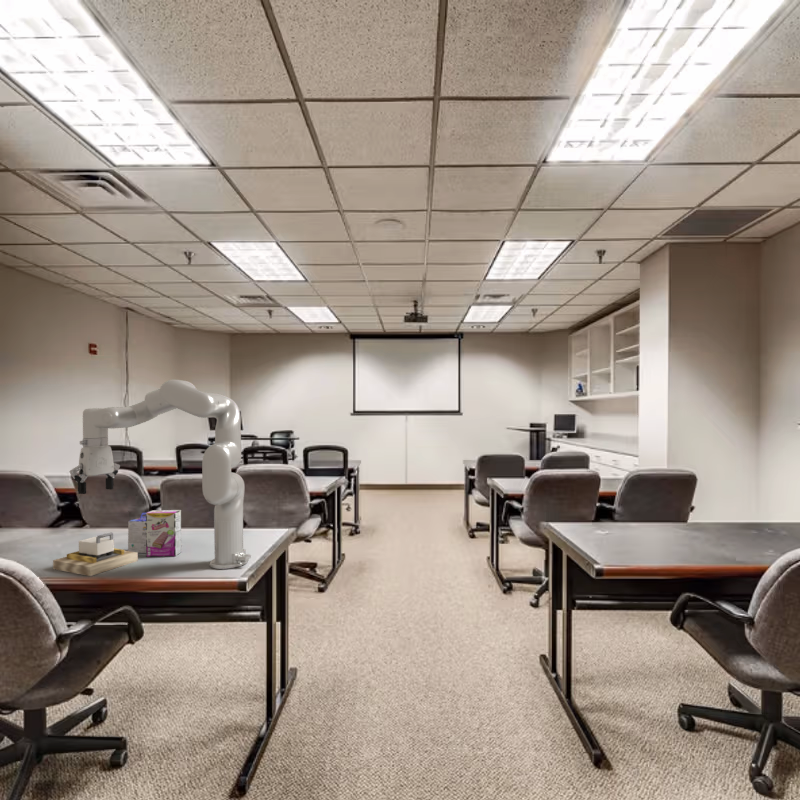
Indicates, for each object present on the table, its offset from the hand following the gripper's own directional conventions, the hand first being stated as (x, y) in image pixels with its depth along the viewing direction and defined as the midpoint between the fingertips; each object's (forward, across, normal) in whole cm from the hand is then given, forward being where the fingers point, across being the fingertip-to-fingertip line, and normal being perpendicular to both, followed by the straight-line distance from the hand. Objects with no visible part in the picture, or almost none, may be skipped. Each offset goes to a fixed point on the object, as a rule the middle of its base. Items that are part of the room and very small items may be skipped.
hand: (96, 491), depth 169 cm
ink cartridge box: (+26, +18, -1) cm, 32 cm away
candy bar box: (+26, +17, -13) cm, 34 cm away
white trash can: (+23, 0, 0) cm, 23 cm away
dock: (+26, 0, 0) cm, 26 cm away
